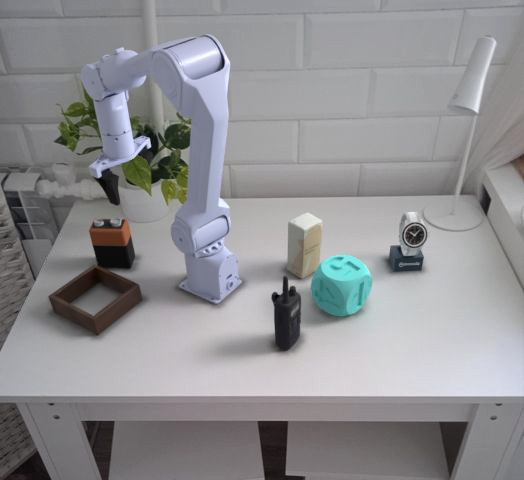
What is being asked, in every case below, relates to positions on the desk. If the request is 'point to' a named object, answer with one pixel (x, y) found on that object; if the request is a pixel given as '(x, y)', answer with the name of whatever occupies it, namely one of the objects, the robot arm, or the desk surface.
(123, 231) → the battery
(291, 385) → the desk surface
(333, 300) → the decorative dice
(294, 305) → the two-way radio
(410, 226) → the watch
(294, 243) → the box
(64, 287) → the brown square open frame
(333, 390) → the desk surface
